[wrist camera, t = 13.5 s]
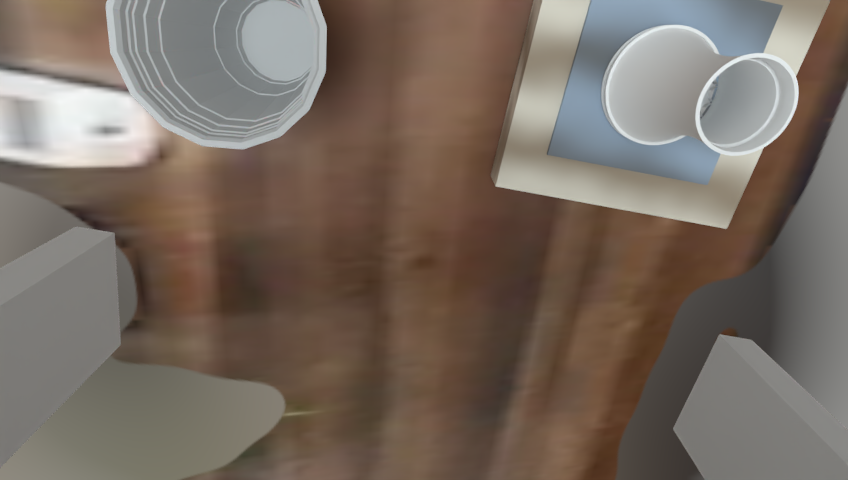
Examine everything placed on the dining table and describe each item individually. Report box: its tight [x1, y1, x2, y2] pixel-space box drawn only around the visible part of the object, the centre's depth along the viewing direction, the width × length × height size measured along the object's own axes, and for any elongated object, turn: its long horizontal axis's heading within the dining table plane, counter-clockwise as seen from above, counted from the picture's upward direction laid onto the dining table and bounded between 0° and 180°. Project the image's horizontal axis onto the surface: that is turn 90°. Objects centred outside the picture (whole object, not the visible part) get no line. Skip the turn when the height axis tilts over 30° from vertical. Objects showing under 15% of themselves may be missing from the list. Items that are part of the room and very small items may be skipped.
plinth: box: [491, 0, 830, 229], centre depth 35 cm, size 18×18×3 cm
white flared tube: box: [601, 25, 798, 156], centre depth 29 cm, size 8×8×10 cm
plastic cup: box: [106, 0, 327, 149], centre depth 30 cm, size 11×11×12 cm
